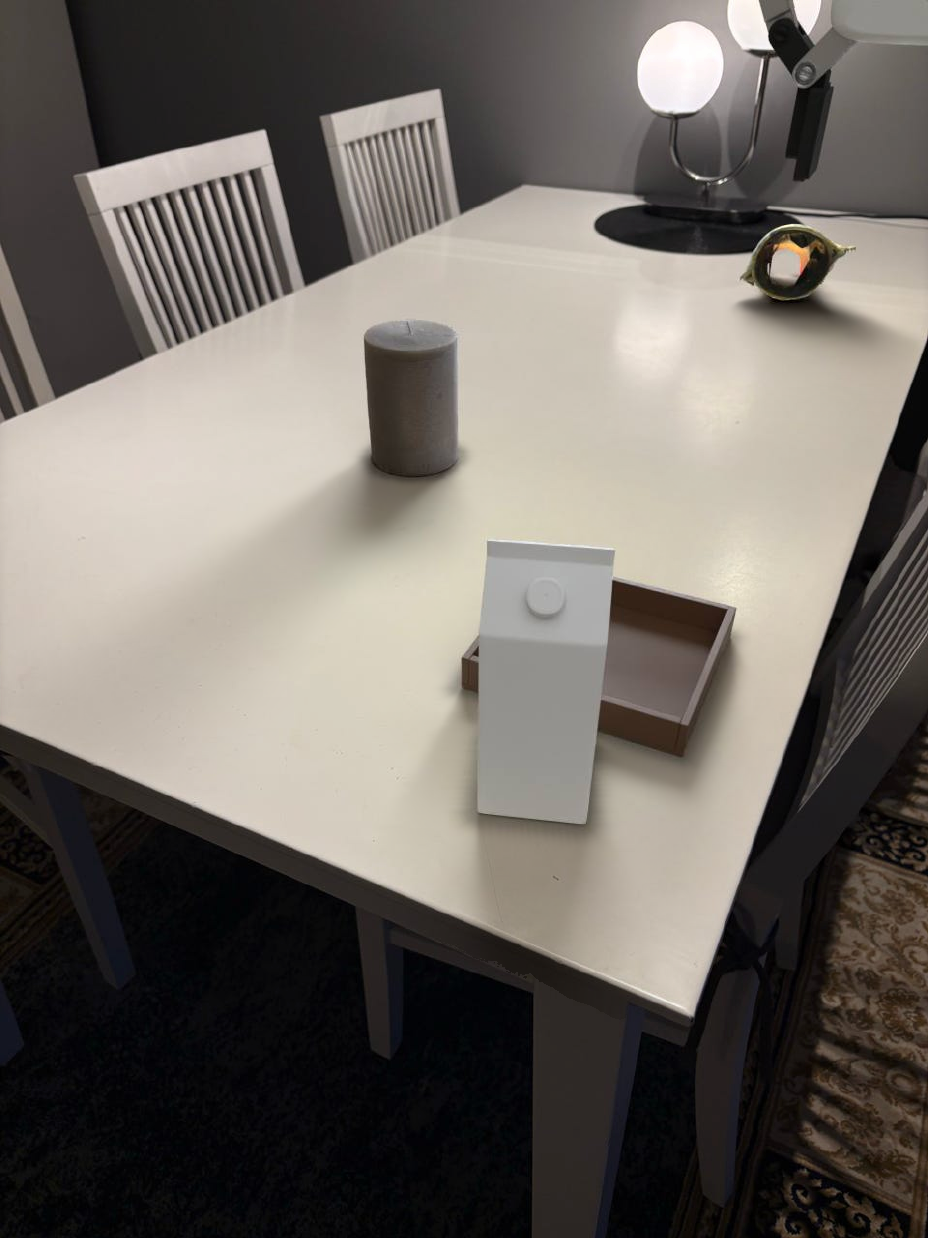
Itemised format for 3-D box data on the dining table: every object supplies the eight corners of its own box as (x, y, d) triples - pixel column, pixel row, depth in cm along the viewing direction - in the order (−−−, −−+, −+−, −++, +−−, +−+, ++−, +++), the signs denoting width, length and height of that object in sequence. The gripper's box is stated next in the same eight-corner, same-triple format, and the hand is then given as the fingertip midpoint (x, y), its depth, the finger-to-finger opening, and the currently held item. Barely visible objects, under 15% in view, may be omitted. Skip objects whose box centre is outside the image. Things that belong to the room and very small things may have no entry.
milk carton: (490, 739, 65) (494, 508, 54) (589, 749, 64) (615, 516, 53) (476, 815, 60) (479, 575, 48) (585, 827, 59) (614, 585, 47)
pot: (838, 216, 149) (853, 202, 132) (848, 286, 152) (863, 282, 135) (730, 246, 154) (731, 237, 138) (741, 314, 157) (744, 313, 141)
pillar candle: (374, 480, 96) (365, 341, 87) (368, 440, 104) (359, 307, 95) (465, 473, 97) (465, 335, 88) (452, 434, 105) (451, 303, 96)
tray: (730, 636, 75) (736, 607, 73) (682, 757, 64) (688, 726, 62) (535, 585, 81) (537, 556, 79) (461, 687, 70) (461, 657, 68)
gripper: (1297, -314, 34) (1103, 186, 44) (814, -275, 40) (743, 157, 50) (1351, -360, 28) (1116, 222, 39) (784, -308, 34) (711, 184, 45)
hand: (906, 185), depth 44 cm, fingers open, 9 cm apart
